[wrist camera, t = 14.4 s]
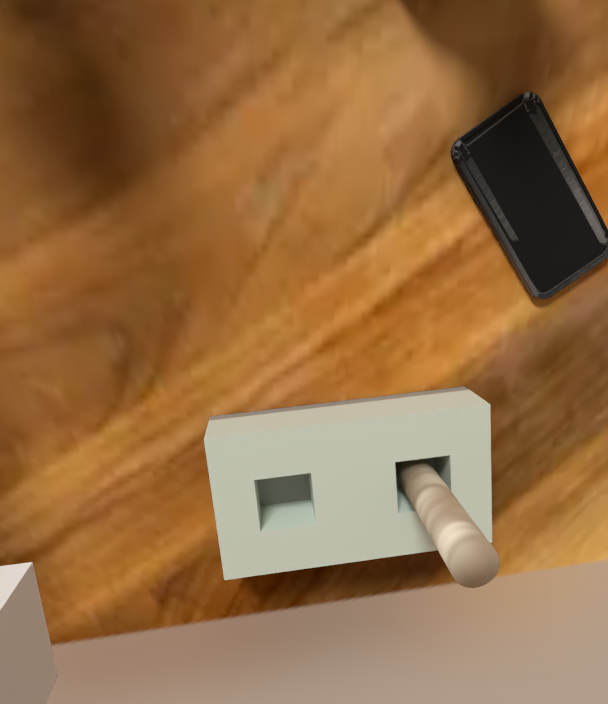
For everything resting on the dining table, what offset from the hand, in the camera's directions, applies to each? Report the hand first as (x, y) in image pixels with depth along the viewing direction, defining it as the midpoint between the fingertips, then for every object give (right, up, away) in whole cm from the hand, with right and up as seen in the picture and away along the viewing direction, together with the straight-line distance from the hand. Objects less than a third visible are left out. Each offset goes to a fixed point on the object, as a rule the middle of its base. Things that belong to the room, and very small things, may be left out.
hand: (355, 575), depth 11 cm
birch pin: (+8, -5, +33) cm, 34 cm away
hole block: (+2, -5, +33) cm, 34 cm away
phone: (+17, +17, +31) cm, 39 cm away
